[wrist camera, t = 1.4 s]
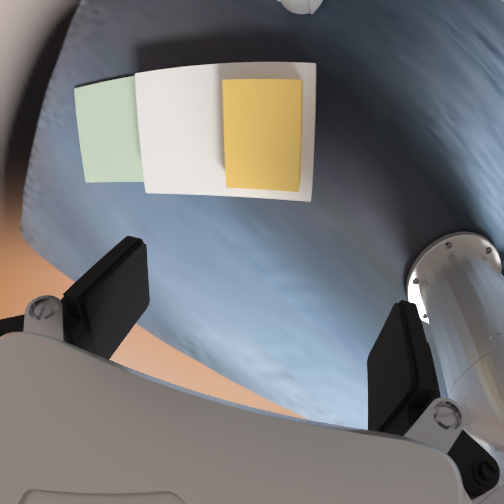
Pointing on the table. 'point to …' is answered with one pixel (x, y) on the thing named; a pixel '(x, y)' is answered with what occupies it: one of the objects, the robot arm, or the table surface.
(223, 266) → the table surface
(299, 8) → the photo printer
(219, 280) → the table surface
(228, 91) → the tile
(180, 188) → the plate
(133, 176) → the mat
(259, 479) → the robot arm
